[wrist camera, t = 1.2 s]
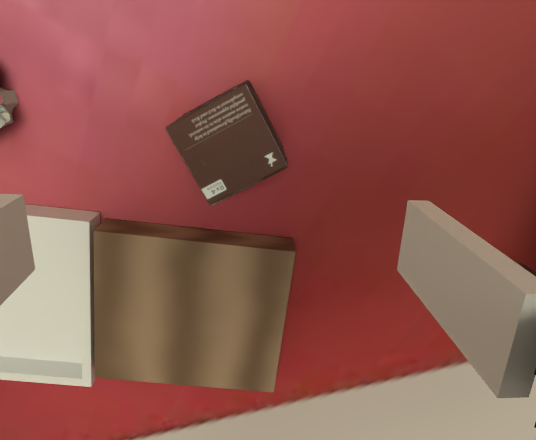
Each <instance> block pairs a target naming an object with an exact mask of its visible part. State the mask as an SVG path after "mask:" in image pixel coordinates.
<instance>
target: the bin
mask: <svg viewBox="0 0 536 440" xmlns="http://www.w3.org/2000/svg"><path fill="white" fill-rule="evenodd" d="M25 208H26V214H27V220H28V226H29V233H30V239H31V245H32V251H33V257H34V264H35V270H34V271H33V272H32V273H31V274H30V275H29V276H28V278H27V279H26V280H25V281H24V282H23V283H22V284H21V285H20V286H19V287H18V288H17V289H16V290H15V291H14V292H13V293H12V294H11V295H10V296H9V297H8V298H7V299H6V300H5V301H4V302H3V303H2V305H1V306H0V379H1V380H13V381H26V382H38V383H50V384H62V385H75V386H87V387H91V386H92V385H93V383H94V381H95V379H96V378H95V340H94V230H95V229H96V228H97V227H98V226H99V225H100V212H94V211H85V210H76V209H67V208H57V207H48V206H39V205H29V204H25Z"/></svg>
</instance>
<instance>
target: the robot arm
mask: <svg viewBox="0 0 536 440" xmlns="http://www.w3.org/2000/svg"><path fill="white" fill-rule="evenodd" d="M34 270H35V264H34V257H33V251H32V245H31V239H30V233H29V226H28V220H27V214H26V208H25V201H24V195H23V194H0V306H1V305H2V303H3V302H4V301H5V300H6V299H7V298H8V297H9V296H10V295H11V294H12V293H13V292H14V291H15V290H16V289H17V288H18V287H19V286H20V285H21V284H22V283H23V282H24V281H25V280H26V279H27V278H28V276H29V275H30V274H31V273H32V272H33V271H34ZM397 271H398V272H399V273H400V275H401V276H402V277H403V278H404V280H405V281H406V282H407V283H408V285H409V286H410V287H411V289H412V290H413V291H414V292H415V294H416V295H417V296H418V297H419V299H420V300H421V301H422V303H423V304H424V305H425V306H426V308H427V309H428V310H429V311H430V313H431V314H432V315H433V317H434V318H435V319H436V320H437V322H438V323H439V324H440V325H441V327H442V328H443V329H444V331H445V332H446V333H447V334H448V336H449V337H450V338H451V339H452V341H453V342H454V343H455V345H456V346H457V347H458V348H459V350H460V351H461V352H462V353H463V355H464V356H465V357H466V359H467V360H468V361H469V362H470V364H471V365H472V366H473V367H474V369H475V370H476V371H477V373H478V374H479V375H480V376H481V378H482V379H483V380H484V381H485V383H486V384H487V385H488V387H489V388H490V389H491V390H492V392H493V393H494V394H495V395H496V397H497V398H514V397H515V398H516V397H529V394H530V391H531V387H532V384H533V381H534V377H535V375H536V273H535V272H534V271H532V270H531V269H530V268H528V267H527V266H525V265H523V264H520V263H518V262H516V261H514V260H512V259H510V258H509V257H507V256H506V255H505V254H503V253H502V252H500V251H499V250H498V249H496V248H495V247H493V246H492V245H490V244H489V243H488V242H486V241H485V240H483V239H482V238H481V237H479V236H478V235H476V234H475V233H474V232H472V231H471V230H469V229H468V228H466V227H465V226H464V225H462V224H461V223H459V222H458V221H457V220H455V219H454V218H452V217H451V216H450V215H448V214H447V213H445V212H444V211H443V210H441V209H440V208H438V207H437V206H435V205H434V204H433V203H431V202H430V201H421V200H408V202H407V209H406V215H405V221H404V228H403V234H402V241H401V247H400V253H399V260H398V266H397ZM535 428H536V423H535Z"/></svg>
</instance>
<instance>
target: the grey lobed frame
mask: <svg viewBox="0 0 536 440" xmlns="http://www.w3.org/2000/svg"><path fill="white" fill-rule="evenodd" d="M0 95H1V97H2V100H3V104H0V128H1V127H2V126H6V125H9V124H11V123H13V118H12V111H13V109H14V107H15V106H16V105H17V104H18V103H19V101H18V98H17V96H16V93H15V91H14V90H5V89H2V88H1V87H0Z"/></svg>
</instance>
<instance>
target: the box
mask: <svg viewBox="0 0 536 440" xmlns="http://www.w3.org/2000/svg"><path fill="white" fill-rule="evenodd" d="M166 131H167V133H168V134H169V136H170V138H171V139H172V141H173V143H174V145H175V146H176V148H177V150H178V151H179V153H180V155H181V156H182V158H183V160H184V161H185V163H186V165H187V167H188V168H189V170H190V172H191V173H192V175H193V177H194V178H195V180H196V182H197V184H198V185H199V187H200V189H201V191H202V192H203V194H204V196H205V198H206V199H207V201H208V203H209V204H210V205H211V206H213V205H215V204H216V203H219V202H220V201H223V200H225V199H226V198H228V197H230V196H232V195H234V194H236V193H238V192H240V191H242V190H245V189H247V188H250V187H251V186H253V185H255V184H256V183H258V182H260V181H261V180H264V179H266V178H267V177H270V176H272V175H273V174H275V173H278V172H280V171H281V170H283V169H285V168H287V167H288V163H287V159H286V157H285V153H284V149H283V146H282V143H281V141H280V139H279V137H278V135H277V133H276V131H275V129H274V127H273V125H272V123H271V121H270V119H269V117H268V115H267V113H266V112H265V110H264V108H263V106H262V104H261V102H260V100H259V98H258V96H257V94H256V92H255V91H254V89H253V87H252V85H251V83H250V81H248V80H247V81H245V82H243V83H241V84H239V85H237V86H236V87H234V88H232V89H230V90H228V91H226V92H224V93H222V94H220V95H218V96H216V97H215V98H213V99H211V100H209V101H207V102H205V103H204V104H202V105H200V106H198V107H197V108H195V109H193V110H191V111H189V112H188V113H185V114H184V115H183V116H181V117H180V118H178V119H177V120H176V121H174V122H173V123H172V124H170V125H169V126H167V127H166Z"/></svg>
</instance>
